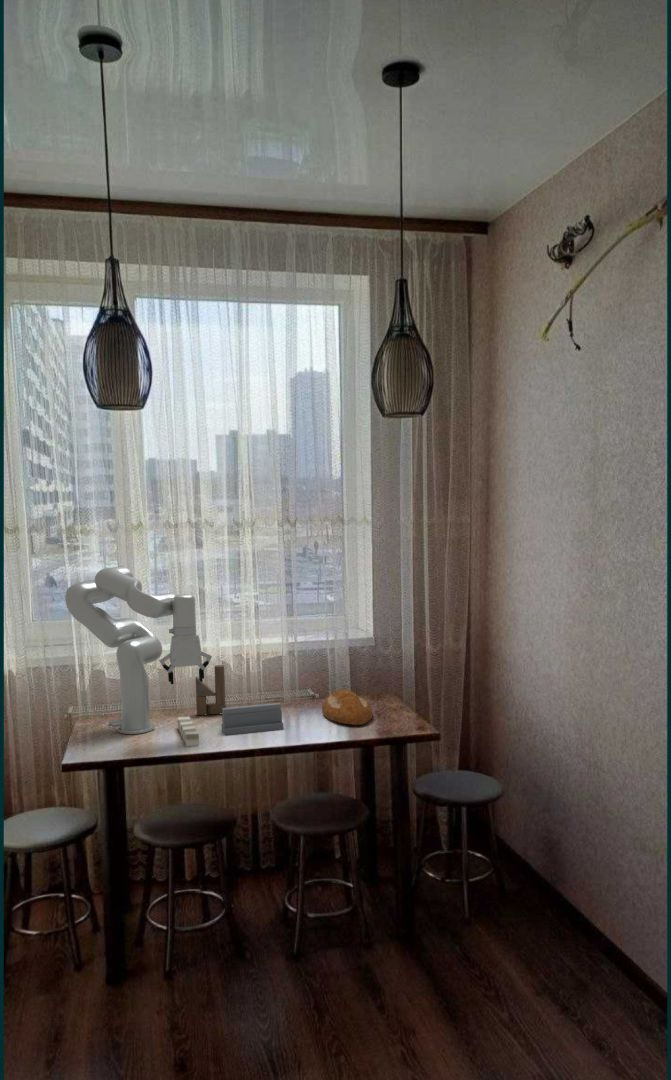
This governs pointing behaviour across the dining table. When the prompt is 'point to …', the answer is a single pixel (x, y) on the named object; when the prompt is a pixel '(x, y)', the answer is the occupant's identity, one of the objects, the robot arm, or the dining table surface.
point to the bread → (347, 708)
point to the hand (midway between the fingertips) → (186, 682)
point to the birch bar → (188, 731)
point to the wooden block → (211, 694)
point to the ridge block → (252, 719)
